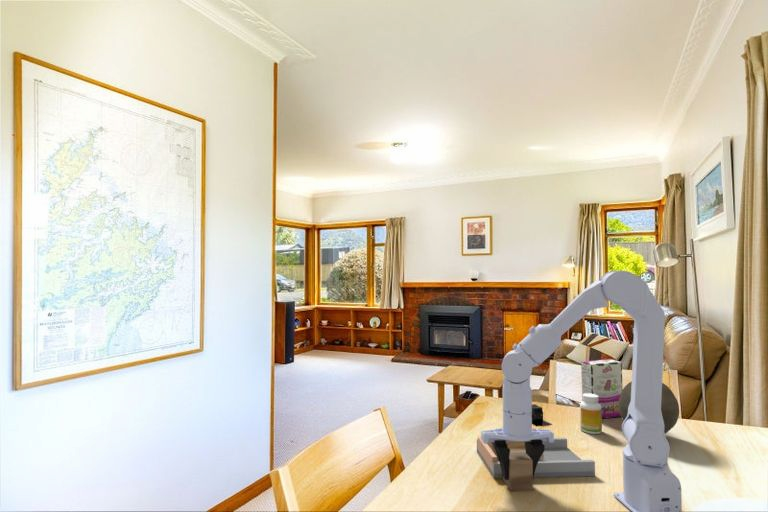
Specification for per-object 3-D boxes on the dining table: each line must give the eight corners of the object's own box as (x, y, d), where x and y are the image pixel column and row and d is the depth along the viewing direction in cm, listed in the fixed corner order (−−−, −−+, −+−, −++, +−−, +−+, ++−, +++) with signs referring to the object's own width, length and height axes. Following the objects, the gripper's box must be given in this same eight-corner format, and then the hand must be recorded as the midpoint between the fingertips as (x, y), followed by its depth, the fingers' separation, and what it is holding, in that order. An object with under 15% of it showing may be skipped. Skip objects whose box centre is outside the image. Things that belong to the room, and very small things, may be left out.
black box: (558, 428, 124) (558, 411, 124) (536, 430, 122) (536, 414, 122) (532, 414, 136) (531, 399, 136) (511, 416, 134) (511, 401, 134)
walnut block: (532, 490, 88) (532, 460, 88) (510, 491, 87) (510, 460, 88) (524, 479, 92) (524, 450, 92) (503, 480, 92) (503, 451, 92)
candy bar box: (611, 411, 137) (610, 358, 137) (624, 416, 132) (623, 362, 133) (581, 414, 134) (580, 360, 134) (592, 420, 129) (592, 364, 130)
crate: (543, 467, 96) (543, 451, 96) (501, 468, 95) (501, 452, 95) (527, 449, 105) (527, 435, 105) (488, 450, 104) (488, 436, 105)
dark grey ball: (608, 435, 117) (607, 378, 118) (632, 423, 126) (631, 371, 126) (667, 452, 106) (666, 389, 107) (689, 438, 115) (688, 381, 115)
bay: (595, 475, 94) (594, 456, 94) (493, 478, 93) (493, 459, 93) (565, 449, 108) (565, 433, 108) (476, 451, 106) (476, 435, 106)
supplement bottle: (604, 435, 117) (603, 398, 118) (582, 433, 118) (582, 397, 119) (598, 428, 122) (598, 393, 123) (578, 426, 124) (577, 391, 124)
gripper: (543, 403, 95) (544, 467, 94) (477, 404, 94) (477, 469, 93) (558, 414, 88) (559, 483, 87) (486, 415, 87) (487, 485, 86)
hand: (517, 477), depth 90 cm, fingers closed on walnut block, 4 cm apart
